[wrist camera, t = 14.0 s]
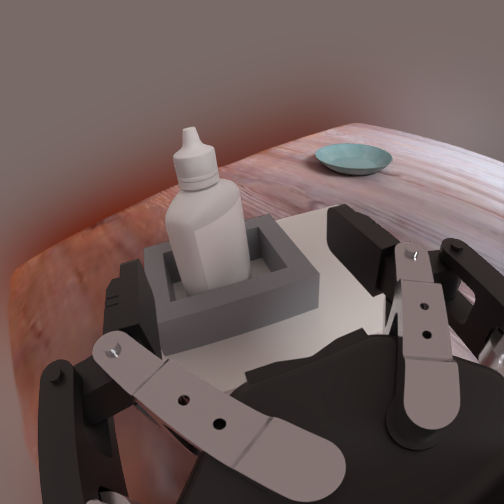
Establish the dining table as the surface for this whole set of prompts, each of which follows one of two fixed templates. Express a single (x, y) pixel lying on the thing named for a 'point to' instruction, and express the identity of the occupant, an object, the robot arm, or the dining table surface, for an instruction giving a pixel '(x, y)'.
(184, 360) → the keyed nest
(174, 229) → the eye dropper bottle
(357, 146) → the saucer
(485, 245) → the dining table surface
